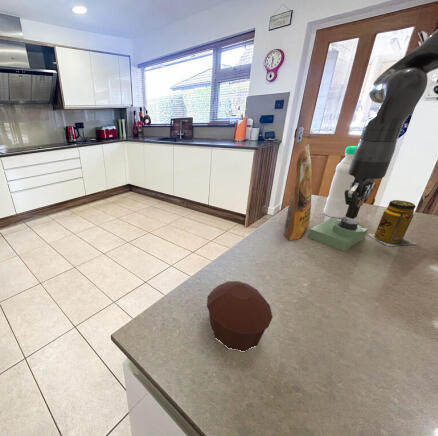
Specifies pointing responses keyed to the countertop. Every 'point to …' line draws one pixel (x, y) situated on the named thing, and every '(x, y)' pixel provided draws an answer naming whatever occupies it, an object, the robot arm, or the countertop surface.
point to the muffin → (238, 314)
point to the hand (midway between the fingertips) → (350, 217)
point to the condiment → (395, 223)
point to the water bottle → (340, 186)
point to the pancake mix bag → (300, 198)
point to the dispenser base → (336, 234)
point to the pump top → (348, 224)
